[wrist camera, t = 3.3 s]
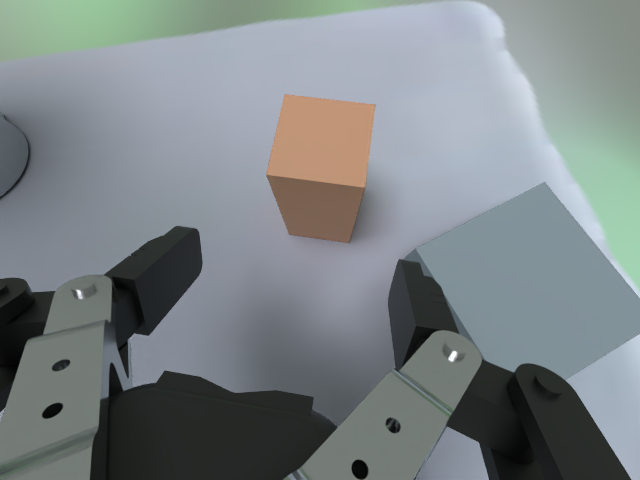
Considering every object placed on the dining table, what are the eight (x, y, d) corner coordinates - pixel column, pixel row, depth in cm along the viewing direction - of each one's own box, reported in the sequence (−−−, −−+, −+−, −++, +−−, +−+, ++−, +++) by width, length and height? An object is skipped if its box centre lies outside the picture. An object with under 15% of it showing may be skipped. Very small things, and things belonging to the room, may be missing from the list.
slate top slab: (403, 259, 21) (415, 248, 18) (516, 200, 22) (544, 181, 19) (486, 397, 18) (516, 410, 16) (610, 322, 20) (658, 321, 17)
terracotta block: (289, 234, 24) (266, 174, 15) (299, 180, 26) (284, 94, 16) (348, 243, 24) (365, 187, 14) (356, 188, 25) (375, 104, 16)
